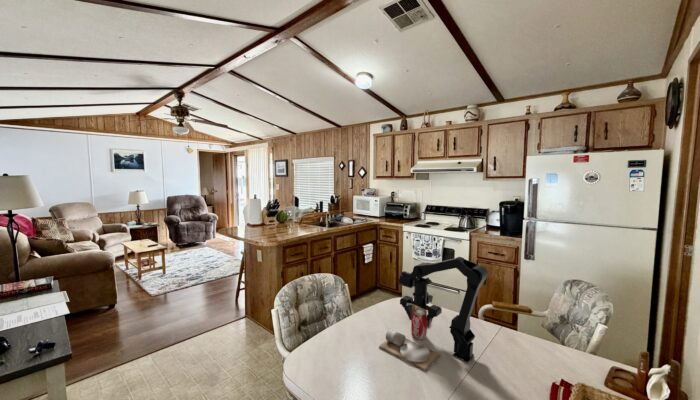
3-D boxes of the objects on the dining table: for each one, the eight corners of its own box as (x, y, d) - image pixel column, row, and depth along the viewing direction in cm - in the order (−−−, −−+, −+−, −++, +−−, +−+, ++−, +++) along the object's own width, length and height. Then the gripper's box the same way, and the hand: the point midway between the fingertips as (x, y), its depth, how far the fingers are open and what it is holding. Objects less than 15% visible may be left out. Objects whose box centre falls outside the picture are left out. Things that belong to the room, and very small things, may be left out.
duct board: (440, 356, 124) (440, 342, 123) (425, 371, 114) (425, 356, 113) (395, 335, 138) (396, 323, 138) (379, 347, 129) (379, 334, 128)
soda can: (428, 341, 135) (429, 315, 133) (412, 340, 135) (413, 315, 134) (424, 332, 142) (425, 308, 140) (409, 332, 142) (410, 308, 141)
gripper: (447, 291, 136) (446, 323, 137) (411, 280, 148) (410, 310, 150) (436, 298, 127) (435, 333, 129) (399, 287, 140) (398, 318, 141)
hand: (419, 323), depth 137 cm, fingers open, 9 cm apart
